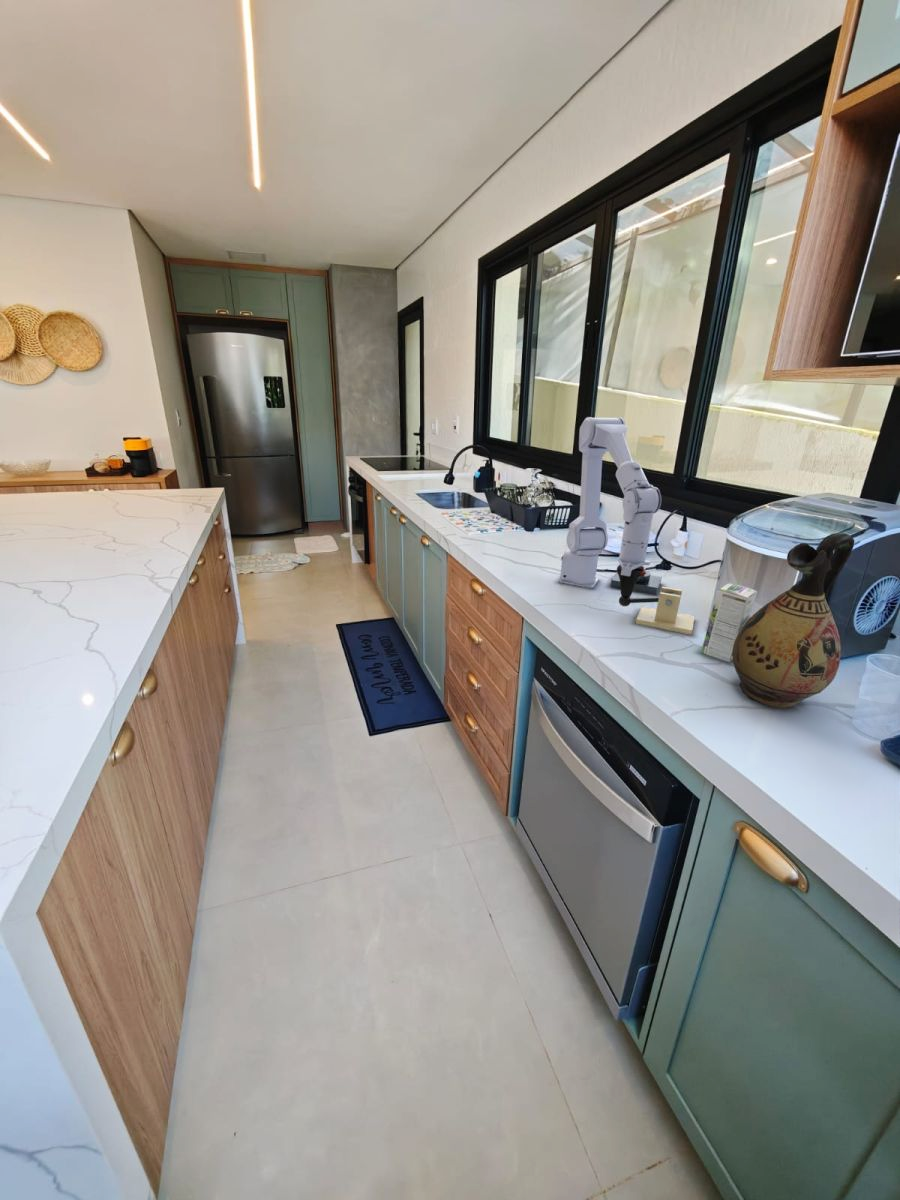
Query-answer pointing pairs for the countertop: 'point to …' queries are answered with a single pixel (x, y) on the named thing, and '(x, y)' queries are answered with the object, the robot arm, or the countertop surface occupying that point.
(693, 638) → the countertop surface
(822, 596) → the ceramic jug
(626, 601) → the lever
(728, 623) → the syrup box
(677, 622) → the cream lever stand
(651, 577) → the block
